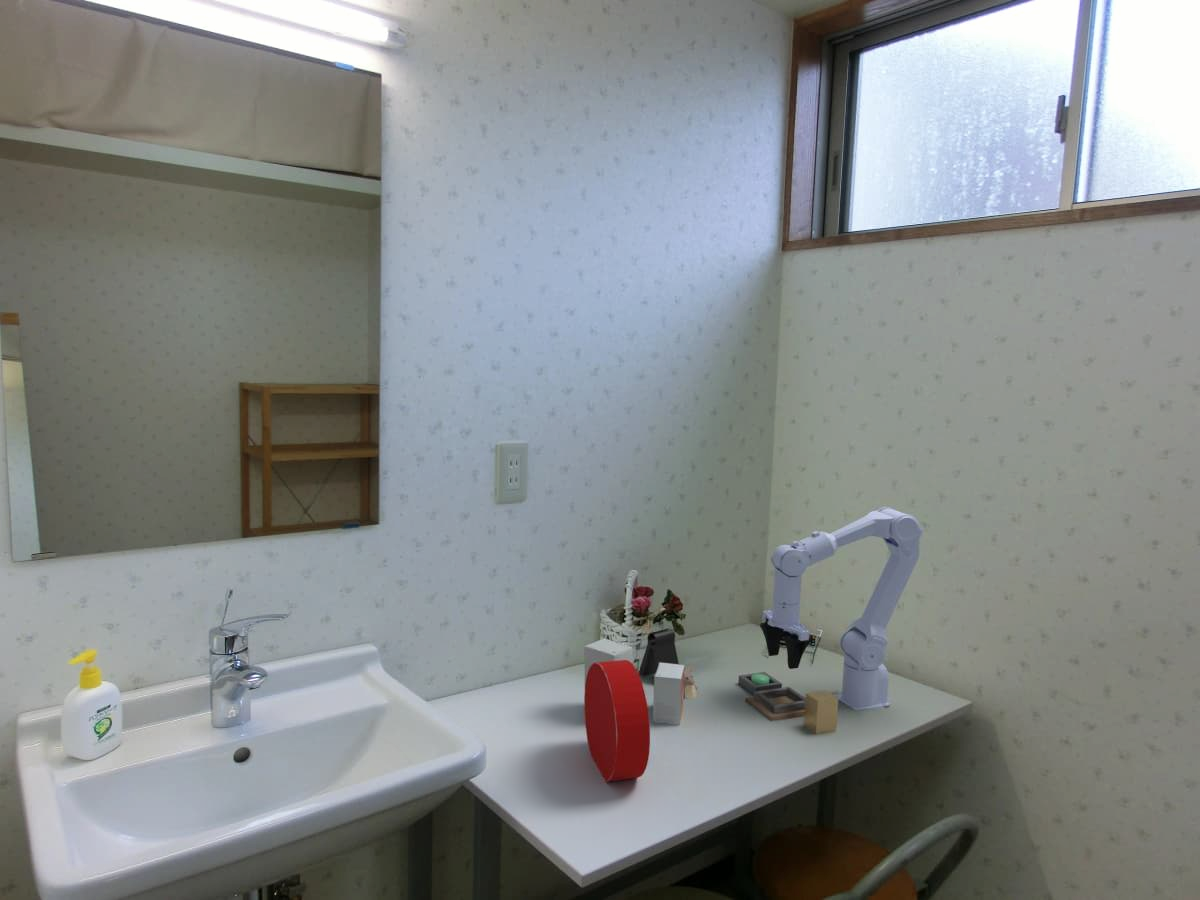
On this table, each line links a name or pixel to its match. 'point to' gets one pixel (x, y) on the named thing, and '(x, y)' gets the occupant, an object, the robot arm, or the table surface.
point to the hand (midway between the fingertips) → (783, 661)
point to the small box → (668, 693)
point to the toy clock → (617, 720)
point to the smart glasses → (812, 643)
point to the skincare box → (606, 653)
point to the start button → (760, 679)
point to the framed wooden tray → (778, 703)
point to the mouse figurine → (689, 685)
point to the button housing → (751, 687)
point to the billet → (821, 712)
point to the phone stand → (659, 651)
